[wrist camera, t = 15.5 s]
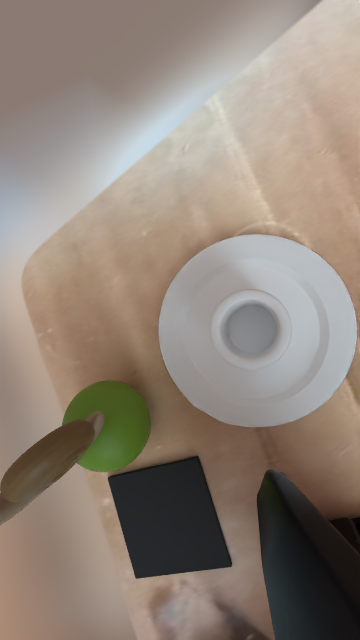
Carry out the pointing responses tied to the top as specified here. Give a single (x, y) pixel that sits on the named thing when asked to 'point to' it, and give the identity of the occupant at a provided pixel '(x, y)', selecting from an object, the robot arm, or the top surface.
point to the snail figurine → (80, 443)
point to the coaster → (169, 519)
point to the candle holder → (257, 330)
